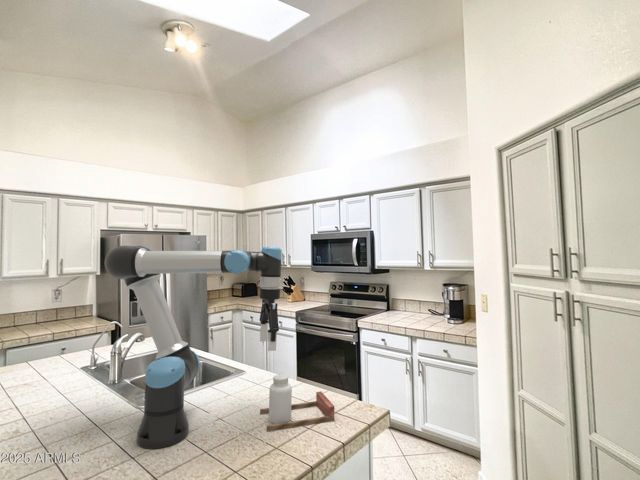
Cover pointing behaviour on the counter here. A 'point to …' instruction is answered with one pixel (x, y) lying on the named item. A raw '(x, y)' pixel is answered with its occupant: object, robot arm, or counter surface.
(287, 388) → the pill bottle
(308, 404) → the guide channel
